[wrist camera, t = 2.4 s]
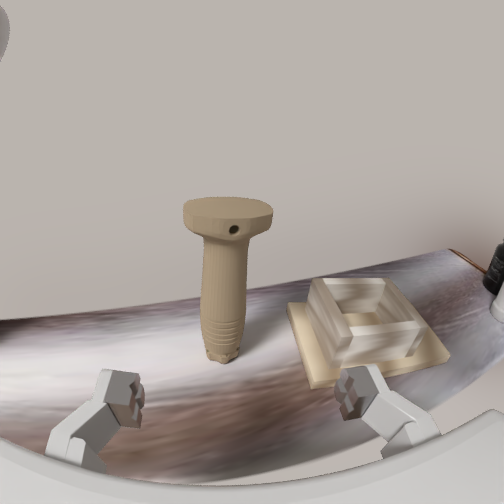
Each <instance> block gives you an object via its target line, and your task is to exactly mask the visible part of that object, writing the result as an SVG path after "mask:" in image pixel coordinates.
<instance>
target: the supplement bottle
mask: <svg viewBox="0 0 504 504" xmlns="http://www.w3.org/2000/svg"><path fill="white" fill-rule="evenodd" d="M503 282H504V243H502V244H499V245H498V246H497V248H496V250H495V253H494V255H493V258H492V261H491V263H490V266H489V268H488V270H487V273H486V275H485V278H484V280H483V283H484V286H485V287H486V288H487V289H488V290H489V291H490V292H492V293H493V294H495V295H497V296H498V293H499V291H500V289H501V287H502V284H503Z"/></svg>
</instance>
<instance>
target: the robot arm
mask: <svg viewBox="0 0 504 504" xmlns="http://www.w3.org/2000/svg"><path fill="white" fill-rule="evenodd" d="M9 31H10V27H9V20H8V16H7V14H6V12H5V10H4V9H3V8H2V7H1V6H0V61H1V59H2V57H3V55H4V52H5V50H6V47H7V44H8V39H9ZM334 393H335V398H336V400H337V401H338V402H339V403H340V404H341V406H340V411H341V414H342V417H343V420H344V421H346V420H351V419H356V418H361V419H362V420H364V421H365V422H366V423H367V424H368V425H369V426H370V427H371V428H373V429H374V430H375V431H376V432H377V433H378V434H379V435H381V436H382V437H383V438H384V439H385V440H386V441H388V442H389V443H388V444H387V445H386V446H385V447H384V448H383V449H382V450H381V454H382V457H383V459H382V460H378V461H375V462H372V463H369V464H366V465H362V466H358V467H355V468H351V469H347V470H343V471H339V472H334V473H330V474H326V475H320V476H315V477H310V478H304V479H298V480H291V481H283V482H275V483H265V484H253V485H234V486H233V485H232V486H201V485H181V484H168V483H158V482H150V481H143V480H136V479H130V478H124V477H119V476H114V475H109V474H106V467H107V465H106V464H105V463H104V462H103V461H102V460H101V459H100V457H99V456H98V455H97V454H98V453H99V452H100V451H101V450H102V448H103V447H104V446H105V445H106V444H107V443H108V442H109V440H110V439H111V438H112V437H113V436H114V435H115V434H116V432H117V431H118V430H119V429H120V428H121V427H130V428H139V429H140V427H141V420H142V414H141V411H140V409H141V408H142V407H143V406H144V400H145V393H144V388H143V385H142V384H140V376H139V373H131V372H123V371H116V370H109V369H102V370H101V372H100V374H99V377H98V380H97V383H96V387H95V390H94V393H93V396H92V400H87V401H86V402H85V403H84V404H82V405H81V406H80V407H79V408H78V409H76V410H75V411H74V412H73V413H72V414H70V415H69V416H68V417H67V418H65V419H64V420H63V421H62V422H61V423H59V424H58V425H57V426H56V427H55V428H53V429H52V431H51V434H50V437H49V441H48V444H47V447H46V451H45V455H41V454H38V453H36V452H33V451H31V450H28V449H26V448H23V447H21V446H19V445H16V444H14V443H12V442H10V441H8V440H6V439H4V438H2V437H0V504H504V414H503V413H501V412H499V411H497V410H494V409H491V410H488V411H486V412H484V413H482V414H481V415H479V416H477V417H476V418H474V419H472V420H471V421H469V422H467V423H465V424H463V425H461V426H459V427H458V428H456V429H454V430H452V431H450V432H448V433H446V434H444V435H441V433H440V431H439V429H438V427H437V425H436V424H435V422H434V420H433V418H432V416H431V414H429V413H428V412H426V411H424V410H423V409H421V408H420V407H418V406H417V405H415V404H413V403H412V402H410V401H409V400H407V399H406V398H404V397H402V396H401V395H399V394H398V393H396V392H395V391H390V389H389V387H388V386H387V384H386V382H385V380H384V378H383V376H382V374H381V372H380V371H379V369H378V367H377V365H375V364H370V365H364V366H363V365H362V366H356V367H350V368H344V369H342V370H341V372H340V378H339V379H338V380H337V381H336V383H335V386H334ZM120 426H121V427H120Z"/></svg>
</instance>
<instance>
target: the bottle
mask: <svg viewBox="0 0 504 504" xmlns="http://www.w3.org/2000/svg"><path fill="white" fill-rule="evenodd" d="M490 312H491V314H492V316H493V317H494V318H495V319H497V320H498V321H500V322H502V323H504V282H503V284H502V287H501V289H500V291H499V293H498V296H497V298H496V299H494V301H493V303H492V305H491V308H490Z"/></svg>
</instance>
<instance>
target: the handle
mask: <svg viewBox="0 0 504 504" xmlns="http://www.w3.org/2000/svg"><path fill="white" fill-rule="evenodd" d="M183 213H184V214H183V217H184V224H185V226H186V227H187V228H188V229H189V230H190V231H192V232H193V233H195V234H198V235H200V236H202V237H203V238H204V257H203V275H202V288H201V302H200V321H201V330H202V336H203V340H204V343H205V348H206V354H207V357H208V359H210V360H215V361H218V362H220V363H221V364H225V363H228V361H229V360H230V359H232V358H235V357H237V355H238V352H239V347H238V346H239V344H240V341H241V338H242V334H243V329H244V324H245V316H246V281H247V254H248V246H249V240H250V238H252V237H253V236H255V235H257V234H260V233H262V232H264V231H267V230H268V229H269V228H270V226H271V223H272V217H273V209H272V208H271V206H270V205H268V204H267V203H265V202H262V201H260V200H255V199H248V198H240V197H207V198H200V199H194V200H189V201H187V202H186V203H185V204H184V207H183Z"/></svg>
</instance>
